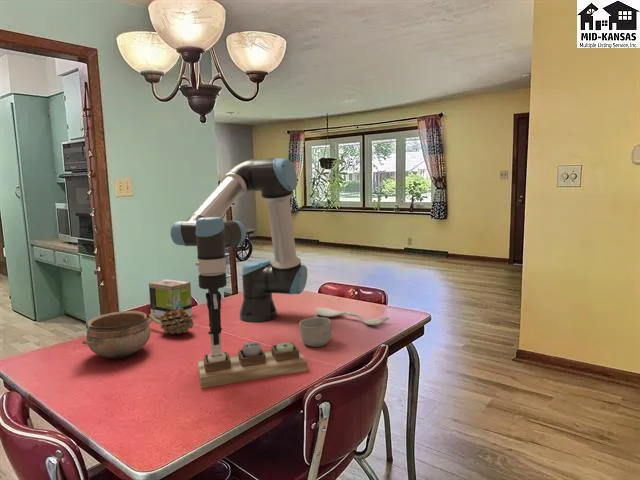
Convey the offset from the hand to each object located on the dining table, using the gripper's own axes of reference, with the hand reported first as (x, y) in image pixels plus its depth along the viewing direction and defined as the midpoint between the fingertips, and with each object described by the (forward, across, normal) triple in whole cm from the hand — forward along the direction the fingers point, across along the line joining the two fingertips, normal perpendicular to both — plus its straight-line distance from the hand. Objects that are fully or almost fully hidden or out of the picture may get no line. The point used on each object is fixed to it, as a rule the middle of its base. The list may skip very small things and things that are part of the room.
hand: (216, 354), depth 125 cm
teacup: (+7, -15, +35) cm, 39 cm away
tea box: (+7, -67, -12) cm, 68 cm away
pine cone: (+7, -45, -13) cm, 47 cm away
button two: (+3, 0, 0) cm, 3 cm away
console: (+7, 0, +10) cm, 12 cm away
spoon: (+7, -34, +55) cm, 65 cm away
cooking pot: (+7, -28, -28) cm, 40 cm away
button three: (+2, 0, +10) cm, 10 cm away
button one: (+3, 0, +20) cm, 20 cm away
